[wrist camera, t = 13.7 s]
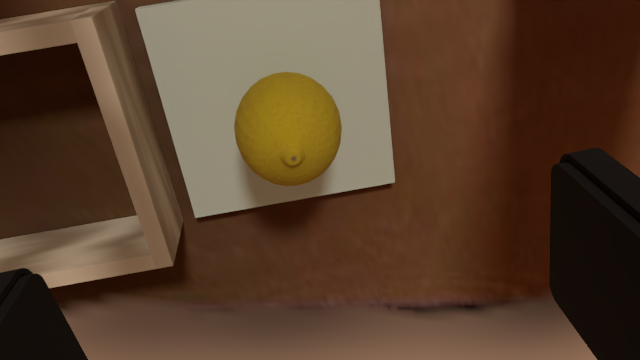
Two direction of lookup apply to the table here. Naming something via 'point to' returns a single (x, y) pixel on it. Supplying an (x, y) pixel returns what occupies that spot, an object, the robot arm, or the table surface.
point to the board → (254, 64)
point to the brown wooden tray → (130, 147)
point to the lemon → (288, 128)
